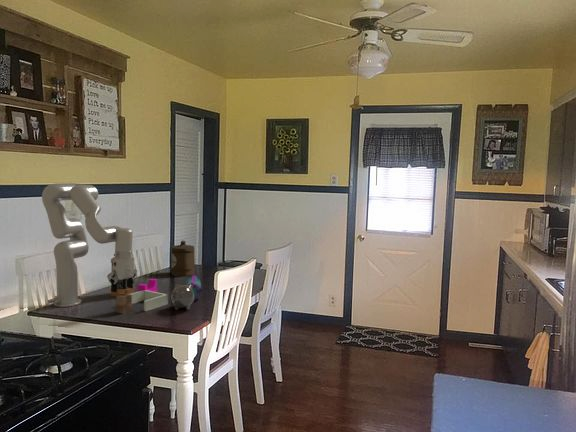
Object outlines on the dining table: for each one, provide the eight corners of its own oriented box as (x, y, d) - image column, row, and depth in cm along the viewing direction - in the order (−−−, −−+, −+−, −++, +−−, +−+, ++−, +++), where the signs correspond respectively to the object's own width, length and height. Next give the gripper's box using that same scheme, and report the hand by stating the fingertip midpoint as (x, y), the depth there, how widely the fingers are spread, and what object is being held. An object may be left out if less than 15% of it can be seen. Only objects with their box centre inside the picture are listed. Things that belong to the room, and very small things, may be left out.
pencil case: (201, 301, 254) (202, 283, 253) (184, 301, 252) (184, 283, 251) (200, 291, 274) (201, 274, 273) (185, 291, 272) (185, 274, 271)
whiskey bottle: (119, 291, 268) (119, 234, 265) (135, 292, 266) (135, 235, 263) (109, 295, 258) (108, 236, 255) (125, 297, 256) (125, 237, 253)
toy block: (149, 300, 251) (149, 285, 251) (138, 299, 252) (138, 285, 252) (161, 292, 266) (161, 279, 265) (150, 292, 267) (150, 278, 266)
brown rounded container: (172, 271, 323) (173, 239, 321) (195, 271, 325) (195, 239, 323) (169, 276, 308) (170, 242, 306) (193, 276, 310) (193, 242, 308)
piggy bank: (195, 303, 247) (195, 281, 246) (193, 312, 232) (193, 289, 231) (172, 304, 246) (173, 281, 245) (169, 312, 231) (169, 289, 230)
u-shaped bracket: (145, 311, 232) (145, 301, 232) (121, 305, 240) (121, 296, 239) (167, 304, 245) (168, 294, 245) (144, 299, 253) (144, 289, 253)
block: (123, 313, 227) (123, 297, 227) (116, 312, 230) (116, 295, 229) (131, 311, 232) (131, 294, 231) (124, 309, 234) (124, 293, 233)
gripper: (114, 258, 219) (113, 295, 221) (142, 253, 234) (141, 287, 236) (102, 255, 222) (101, 291, 224) (131, 251, 238) (130, 285, 239)
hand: (122, 289), depth 230 cm, fingers open, 9 cm apart
